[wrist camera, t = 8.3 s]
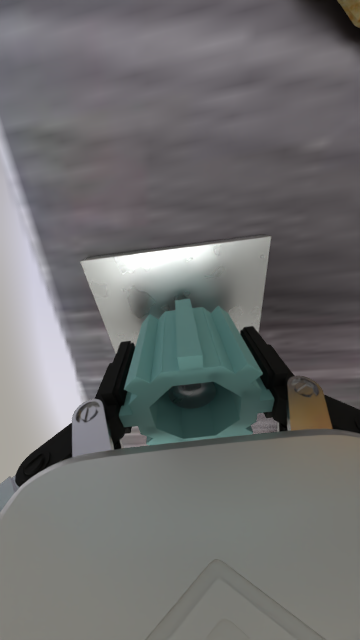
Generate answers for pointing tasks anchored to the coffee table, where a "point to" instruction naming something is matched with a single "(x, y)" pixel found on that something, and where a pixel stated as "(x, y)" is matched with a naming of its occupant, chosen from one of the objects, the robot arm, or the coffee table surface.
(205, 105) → the coffee table surface
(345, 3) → the croissant
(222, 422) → the gear
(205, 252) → the board
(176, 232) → the coffee table surface
